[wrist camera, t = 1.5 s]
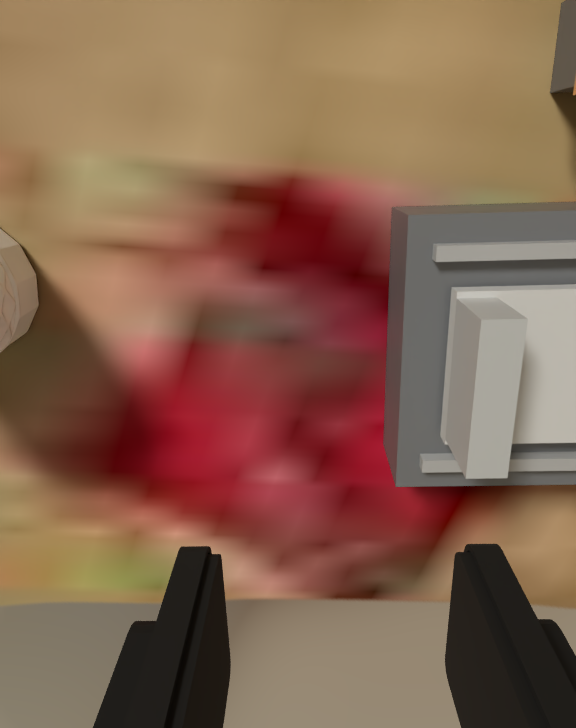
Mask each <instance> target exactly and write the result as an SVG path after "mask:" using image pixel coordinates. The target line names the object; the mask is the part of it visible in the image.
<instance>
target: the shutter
mask: <svg viewBox="0 0 576 728" xmlns="http://www.w3.org/2000/svg"><path fill="white" fill-rule="evenodd" d="M440 436H441V438H442V440H443V442H444V444H445V445H448V446H449V447H450V449H451V451H452V453H453V455H454V457H455V459H456V461H457V463H458V465H459V467H460V469H461V471H462V472H463V474H464V476H465V478H466V479H484V478H508V470H509V462H510V454H511V447H512V444H523V443H576V284H565V285H523V286H481V287H452V289H451V302H450V315H449V328H448V341H447V354H446V367H445V380H444V393H443V406H442V419H441V432H440Z"/></svg>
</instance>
